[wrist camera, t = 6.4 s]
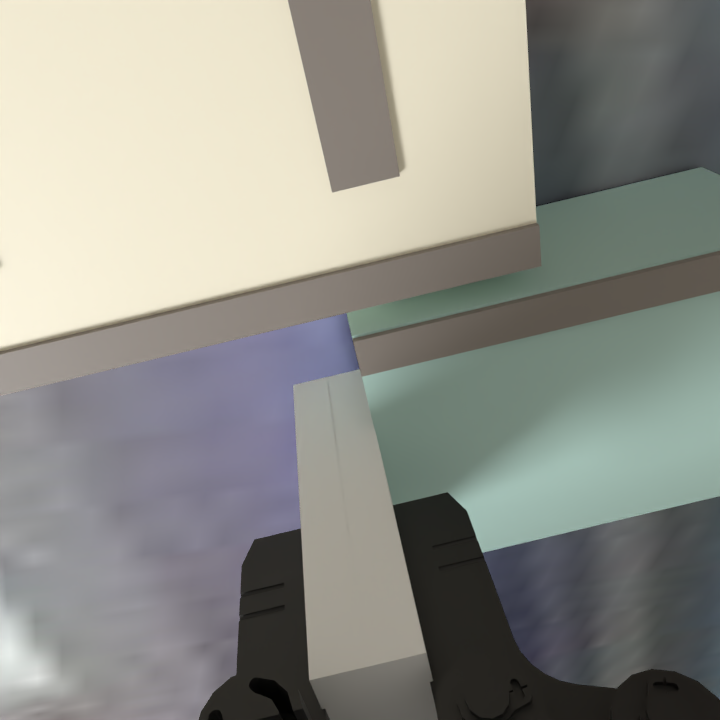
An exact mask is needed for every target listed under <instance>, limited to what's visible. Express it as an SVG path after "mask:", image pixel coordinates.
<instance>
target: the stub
mask: <svg viewBox="0 0 720 720" xmlns="http://www.w3.org/2000/svg"><path fill="white" fill-rule="evenodd" d="M536 220H537V224H539V227H540V248H541V266H540V267H536V268H532V269H528V270H524V271H519V272H515V273H511V274H507V275H503V276H499V277H494V278H490V279H486V280H482V281H478V282H473V283H469V284H465V285H461V286H457V287H453V288H448V289H444V290H440V291H436V292H432V293H428V294H423V295H419V296H415V297H411V298H407V299H403V300H398V301H394V302H390V303H386V304H382V305H378V306H373V307H369V308H365V309H361V310H357V311H353V312H348V313H347V317H348V322H349V326H350V330H351V335H352V339H353V343H354V347H355V352H356V356H357V360H358V364H359V368H360V372H361V376H362V380H363V384H364V388H365V392H366V396H367V400H368V405H369V409H370V413H371V417H372V421H373V425H374V429H375V432H376V436H377V440H378V444H379V448H380V453H381V457H382V461H383V465H384V469H385V473H386V477H387V481H388V486H389V490H390V494H391V498H392V502H393V505H396V504H400V503H404V502H408V501H413V500H417V499H421V498H425V497H430V496H434V495H438V494H442V493H446V492H448V493H449V494H450V495H451V496H452V497H453V498H454V499H455V500H456V501H457V502H458V503H459V504H460V505H461V506H462V507H463V508H464V509H466V510H467V512H468V515H469V518H470V521H471V523H472V526H473V529H474V532H475V534H476V538H477V541H478V542H479V545H480V548H481V551H482V553H483V552H487V551H492V550H496V549H500V548H504V547H508V546H513V545H517V544H521V543H525V542H529V541H534V540H538V539H542V538H546V537H550V536H555V535H559V534H563V533H567V532H571V531H576V530H580V529H584V528H588V527H592V526H597V525H601V524H605V523H609V522H613V521H618V520H622V519H626V518H630V517H634V516H639V515H643V514H647V513H651V512H655V511H660V510H664V509H668V508H672V507H676V506H681V505H685V504H689V503H693V502H697V501H702V500H706V499H710V498H714V497H718V496H720V175H718V174H716V173H714V172H712V171H709V170H707V169H705V168H703V167H699V168H695V169H691V170H687V171H683V172H679V173H674V174H670V175H666V176H662V177H658V178H654V179H649V180H645V181H641V182H637V183H633V184H629V185H624V186H620V187H616V188H612V189H608V190H604V191H599V192H595V193H591V194H587V195H583V196H579V197H574V198H570V199H566V200H562V201H558V202H554V203H549V204H545V205H541V206H537V207H536Z"/></svg>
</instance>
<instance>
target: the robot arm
mask: <svg viewBox="0 0 720 720" xmlns="http://www.w3.org/2000/svg"><path fill="white" fill-rule="evenodd" d="M293 390H294V408H295V427H296V445H297V464H298V482H299V501H300V519H301V529H297V530H293V531H289V532H285V533H280V534H276V535H272V536H268V537H263V538H259V539H255V540H254V542H253V544H252V546H251V548H250V550H249V552H248V554H247V556H246V558H245V560H244V562H243V564H242V573H241V598H240V614H239V616H240V621H239V634H238V654H237V674H236V676H233V677H231V678H230V679H229V680H227V681H226V682H225V683H224V684H223V685H222V686H221V687H219V688H218V689H217V690H216V691H215V692H214V693H213V694H212V696H211V697H210V699H209V700H208V702H207V703H206V705H205V707H204V708H203V710H202V711H201V714H200V717H199V720H720V700H719V699H718V698H717V697H716V696H715V695H714V694H712V693H711V692H710V691H709V690H708V689H706V688H705V687H704V686H703V685H701V684H700V683H699V682H698V681H696V680H693V679H691V678H689V677H686V676H684V675H682V674H679V673H677V672H675V671H665V670H654V669H651V670H647V671H644V672H640V673H637V674H633V675H631V676H630V677H629V678H628V679H627V680H626V681H624V682H623V683H622V684H621V685H620V686H619V687H618V688H617V689H615V688H606V687H596V686H587V685H577V684H572V683H568V682H563V681H559V680H557V679H555V678H553V677H550V676H548V675H546V674H544V673H543V672H541V671H540V670H539V669H537V668H536V667H535V666H533V665H532V664H531V663H530V662H529V661H528V660H527V659H526V658H525V656H524V655H523V654H522V653H521V652H520V650H519V648H518V646H517V644H516V642H515V640H514V638H513V635H512V632H511V630H510V627H509V624H508V622H507V619H506V616H505V613H504V611H503V608H502V605H501V602H500V600H499V597H498V594H497V592H496V589H495V586H494V583H493V581H492V578H491V575H490V572H489V570H488V567H487V564H486V562H485V560H484V556H483V553H482V551H481V548H480V545H479V542H478V541H477V538H476V534H475V532H474V529H473V526H472V523H471V521H470V518H469V515H468V512H467V510H466V509H464V508H463V507H462V506H461V505H460V504H459V503H458V502H457V501H456V500H455V499H454V498H453V497H452V496H451V495H450V494H449V493H448V492H446V493H442V494H438V495H434V496H430V497H425V498H421V499H417V500H413V501H408V502H404V503H400V504H396V505H393V502H392V498H391V494H390V490H389V486H388V481H387V477H386V473H385V469H384V465H383V461H382V457H381V453H380V448H379V444H378V440H377V436H376V432H375V429H374V425H373V421H372V417H371V413H370V409H369V405H368V400H367V396H366V392H365V388H364V384H363V380H362V376H361V372H360V369H359V370H355V371H351V372H346V373H342V374H338V375H334V376H330V377H325V378H321V379H317V380H313V381H308V382H304V383H300V384H296V385H293Z"/></svg>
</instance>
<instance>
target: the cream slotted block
mask: <svg viewBox="0 0 720 720" xmlns="http://www.w3.org/2000/svg"><path fill="white" fill-rule="evenodd" d="M540 266H541V248H540V227H539V224H537V220H536V201H535V181H534V161H533V141H532V122H531V102H530V82H529V62H528V43H527V23H526V3H525V0H0V396H2V395H6V394H10V393H15V392H19V391H23V390H27V389H31V388H35V387H40V386H44V385H48V384H52V383H56V382H60V381H65V380H69V379H73V378H77V377H81V376H86V375H90V374H94V373H98V372H102V371H106V370H111V369H115V368H119V367H123V366H127V365H131V364H136V363H140V362H144V361H148V360H152V359H156V358H161V357H165V356H169V355H173V354H177V353H181V352H186V351H190V350H194V349H198V348H202V347H206V346H211V345H215V344H219V343H223V342H227V341H232V340H236V339H240V338H244V337H248V336H252V335H257V334H261V333H265V332H269V331H273V330H277V329H282V328H286V327H290V326H294V325H298V324H302V323H307V322H311V321H315V320H319V319H323V318H327V317H332V316H336V315H340V314H344V313H348V312H353V311H357V310H361V309H365V308H369V307H373V306H378V305H382V304H386V303H390V302H394V301H398V300H403V299H407V298H411V297H415V296H419V295H423V294H428V293H432V292H436V291H440V290H444V289H448V288H453V287H457V286H461V285H465V284H469V283H473V282H478V281H482V280H486V279H490V278H494V277H499V276H503V275H507V274H511V273H515V272H519V271H524V270H528V269H532V268H536V267H540Z"/></svg>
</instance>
